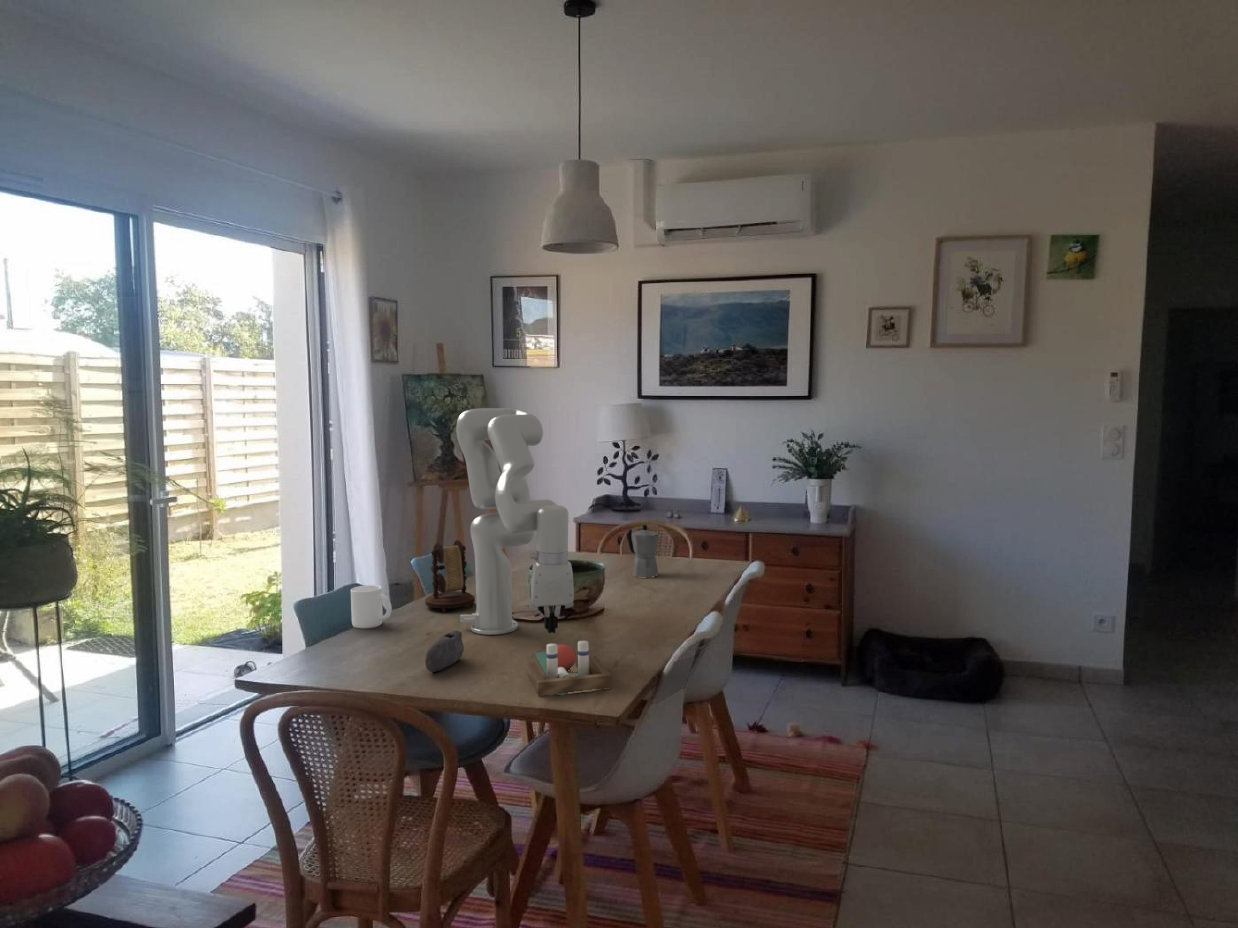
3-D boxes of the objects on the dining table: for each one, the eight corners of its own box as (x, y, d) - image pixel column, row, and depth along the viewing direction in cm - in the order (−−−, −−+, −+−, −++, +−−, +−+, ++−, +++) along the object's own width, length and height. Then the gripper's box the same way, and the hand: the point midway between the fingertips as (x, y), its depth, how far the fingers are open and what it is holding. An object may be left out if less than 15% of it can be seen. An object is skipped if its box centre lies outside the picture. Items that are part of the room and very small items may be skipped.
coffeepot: (668, 576, 289) (668, 525, 287) (649, 580, 282) (649, 528, 281) (636, 570, 300) (636, 520, 298) (618, 574, 293) (617, 523, 292)
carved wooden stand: (440, 615, 240) (438, 547, 238) (416, 606, 251) (414, 541, 250) (484, 606, 250) (482, 541, 248) (459, 598, 261) (457, 535, 259)
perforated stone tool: (436, 678, 188) (435, 647, 187) (416, 675, 189) (415, 645, 189) (469, 657, 202) (469, 629, 201) (450, 655, 203) (450, 628, 203)
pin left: (547, 684, 182) (546, 646, 181) (547, 681, 184) (546, 643, 184) (558, 684, 182) (557, 646, 181) (558, 680, 185) (557, 643, 184)
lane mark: (534, 653, 204) (534, 652, 204) (566, 650, 206) (566, 649, 206) (557, 695, 175) (557, 694, 175) (594, 691, 177) (594, 690, 177)
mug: (400, 623, 233) (398, 587, 232) (382, 631, 225) (381, 593, 224) (364, 619, 237) (363, 584, 236) (345, 627, 229) (344, 590, 228)
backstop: (538, 696, 175) (537, 682, 175) (527, 675, 188) (527, 662, 188) (611, 688, 179) (611, 675, 179) (596, 668, 192) (596, 655, 192)
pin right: (578, 681, 184) (577, 644, 183) (578, 677, 186) (577, 640, 185) (589, 681, 184) (588, 643, 183) (588, 677, 186) (588, 640, 186)
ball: (547, 641, 191) (544, 660, 194) (556, 658, 186) (553, 678, 189) (571, 636, 193) (568, 656, 196) (581, 654, 189) (577, 673, 192)
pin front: (560, 679, 187) (569, 692, 179) (552, 673, 186) (561, 685, 178) (567, 671, 187) (576, 683, 179) (560, 664, 186) (568, 676, 178)
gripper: (523, 562, 193) (522, 638, 195) (586, 559, 196) (584, 634, 199) (518, 554, 200) (517, 628, 202) (579, 552, 204) (577, 624, 206)
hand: (550, 631), depth 201 cm, fingers closed
